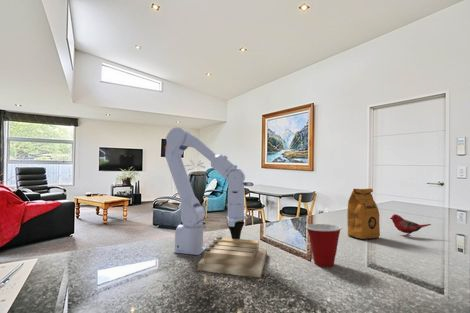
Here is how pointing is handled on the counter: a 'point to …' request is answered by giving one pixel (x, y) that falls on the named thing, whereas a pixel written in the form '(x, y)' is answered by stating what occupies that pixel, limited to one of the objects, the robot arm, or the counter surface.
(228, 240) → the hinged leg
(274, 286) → the counter surface
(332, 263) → the plastic cup
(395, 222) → the decorative bird figurine
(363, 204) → the coffee package
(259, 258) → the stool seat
